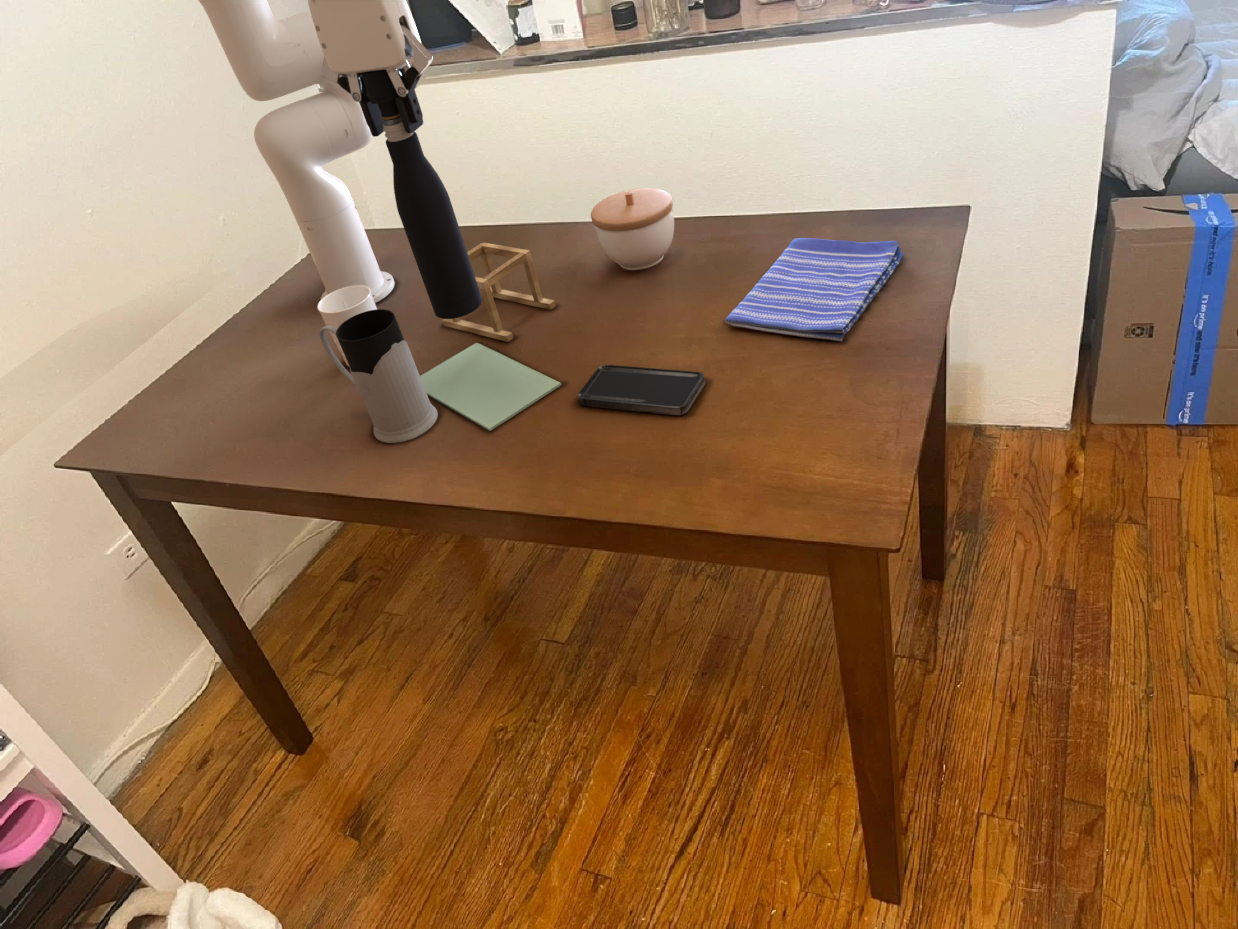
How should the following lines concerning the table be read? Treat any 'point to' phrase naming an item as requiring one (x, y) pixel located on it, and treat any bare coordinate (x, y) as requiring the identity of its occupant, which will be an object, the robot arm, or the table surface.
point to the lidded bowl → (635, 227)
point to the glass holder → (383, 375)
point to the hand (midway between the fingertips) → (397, 128)
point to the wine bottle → (425, 211)
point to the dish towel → (817, 288)
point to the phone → (642, 389)
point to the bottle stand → (495, 291)
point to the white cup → (345, 307)
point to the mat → (486, 385)
